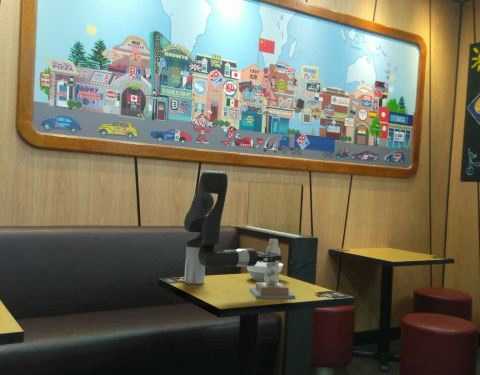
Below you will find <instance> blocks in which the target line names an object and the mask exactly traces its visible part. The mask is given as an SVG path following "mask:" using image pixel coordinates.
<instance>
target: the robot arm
mask: <svg viewBox="0 0 480 375" xmlns="http://www.w3.org/2000/svg"><path fill="white" fill-rule="evenodd" d="M228 178H229V177H228V174H227V172H225V171H216V170H204V171H203V172H201V175H200V178H199V182H198V186H197V190H196V192H195V195H194V197H193V199H192V202H191V205H190V208H189V210H188V211H187V213H186V215H185V217H184V220H183V226H184V227H183V228H184V229H185V231H186V232H189V233H198V234H197V236H194V237H192V238H190V239H188V240H186V245H185V246H186V248H185V249H186V251H185V264H184V265H185V266H184V283H185V284H190V285H201V284H204V283H205V270H206V268H208V269H211V270H218V269H223V268H226V267H227V268H228V267H229V268H230V267H238V268H241V267H242V268H243V267H244V268H245V267H246V266H255V265H256V263H257V261H259V262H264V263H265V262H276V261H279V262H280V261H282V259H283V256H282V255H281V254H280V255H275V256H274V255H269V254H266V252H262V251H256V249H254V248H237V249H225V250H222V251H215V249H216V245H218V244H219V242H220V235H221V224H222V217H223V212H224V207H225V203H226V196H227V191H228V186H229V185H228V183H229V182H228ZM212 194H215V195H217V197H216V201H215V199H214V197H213V195H212ZM266 255H267V256H266ZM271 258H272V260H271ZM205 267H206V268H205ZM246 268H247V267H246Z"/></svg>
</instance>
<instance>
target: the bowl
mask: <svg viewBox="0 0 480 375" xmlns="http://www.w3.org/2000/svg"><path fill="white" fill-rule="evenodd" d="M266 264H267V263H266V262H265V263H264V262H259V261H257V263H256V265H255V266H246V270H247V272H248V273H249V275H250V276H251V278H252V280H253V281H256V282H265V281H264V276H265V272H266ZM283 266H284V263H281V262H279V266H278V269H279V274H280V273H281V272H282V269H283Z"/></svg>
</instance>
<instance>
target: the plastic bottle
mask: <svg viewBox="0 0 480 375" xmlns="http://www.w3.org/2000/svg"><path fill="white" fill-rule="evenodd" d="M268 244H269V245H268V246H267V247H266V249H265V253H266V254H269V255H274V256H275V255H281V253H282V252H281V249H280V247H279V246H278V245H279V239H277V238H269V242H268ZM266 256H267V255H266ZM271 260H272V258H271ZM266 263H267V264H266V272H265V276H264V281H265V283H266V284H270V285H275V284H278V282H279V281H280V273H279V269H278V266H279V263H280V261H276V262H266ZM264 281H263V282H264Z"/></svg>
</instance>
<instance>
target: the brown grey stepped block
mask: <svg viewBox="0 0 480 375" xmlns="http://www.w3.org/2000/svg"><path fill="white" fill-rule="evenodd" d="M289 289H290V288H289V287H288V286H287V284H284V283H283V282H278V284H275V285H270V284H266V283H265V282H264V281H256V282H255V287H249V290H248V291H249V292H250V293H251V294H252V295H253V297H254V298H255V299H275V298H276V299H281V300H282V299H286V300H287V299H291V300H293V299H296V295H295V294H294V293H292V292H291V291H290V290H289Z"/></svg>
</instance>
